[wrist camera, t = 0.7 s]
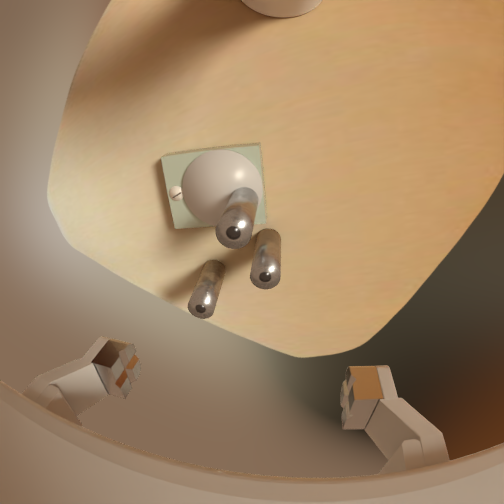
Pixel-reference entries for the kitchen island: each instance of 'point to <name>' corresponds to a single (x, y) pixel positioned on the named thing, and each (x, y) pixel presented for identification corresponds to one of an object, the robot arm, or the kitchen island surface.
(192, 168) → the scale
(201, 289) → the cylinder
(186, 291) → the kitchen island surface
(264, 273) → the cylinder
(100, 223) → the kitchen island surface
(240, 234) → the cylinder
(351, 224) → the kitchen island surface
